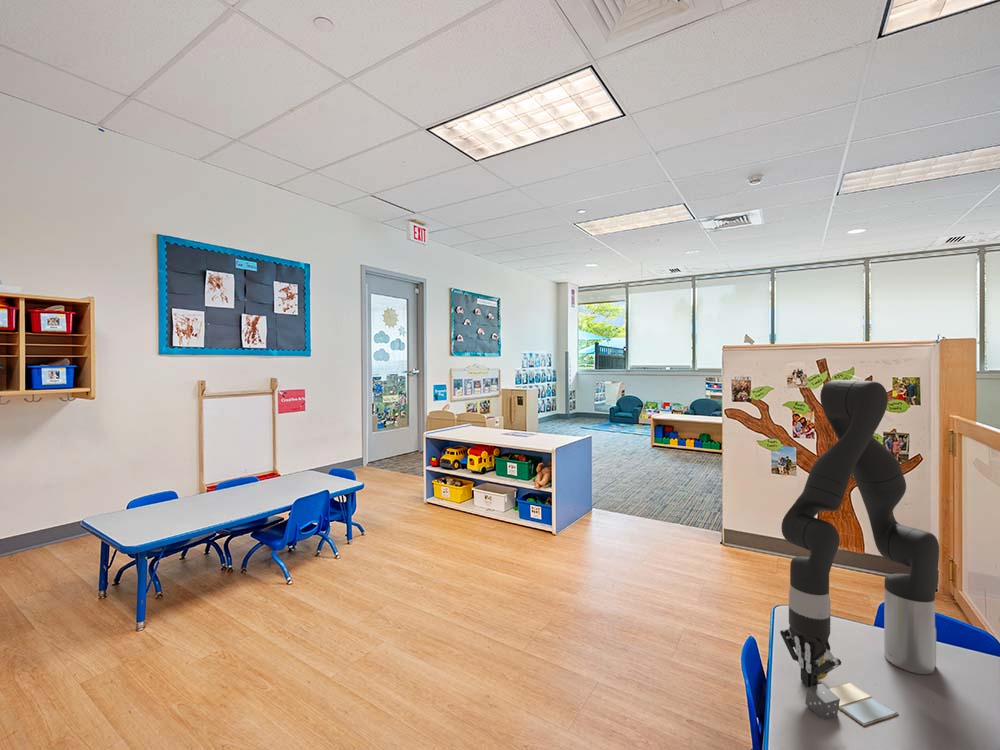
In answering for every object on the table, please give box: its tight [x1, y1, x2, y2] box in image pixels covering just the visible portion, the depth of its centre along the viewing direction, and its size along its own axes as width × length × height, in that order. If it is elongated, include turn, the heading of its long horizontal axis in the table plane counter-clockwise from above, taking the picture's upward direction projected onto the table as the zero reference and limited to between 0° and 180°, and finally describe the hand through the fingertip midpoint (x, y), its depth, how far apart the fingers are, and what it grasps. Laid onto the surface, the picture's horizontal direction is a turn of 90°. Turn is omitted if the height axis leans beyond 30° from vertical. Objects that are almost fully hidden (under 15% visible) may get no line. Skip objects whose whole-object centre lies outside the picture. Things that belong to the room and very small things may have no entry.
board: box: [828, 681, 899, 727], centre depth 99 cm, size 10×10×1 cm
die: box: [804, 683, 840, 721], centre depth 97 cm, size 4×4×4 cm
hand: (808, 686), depth 100 cm, fingers closed
